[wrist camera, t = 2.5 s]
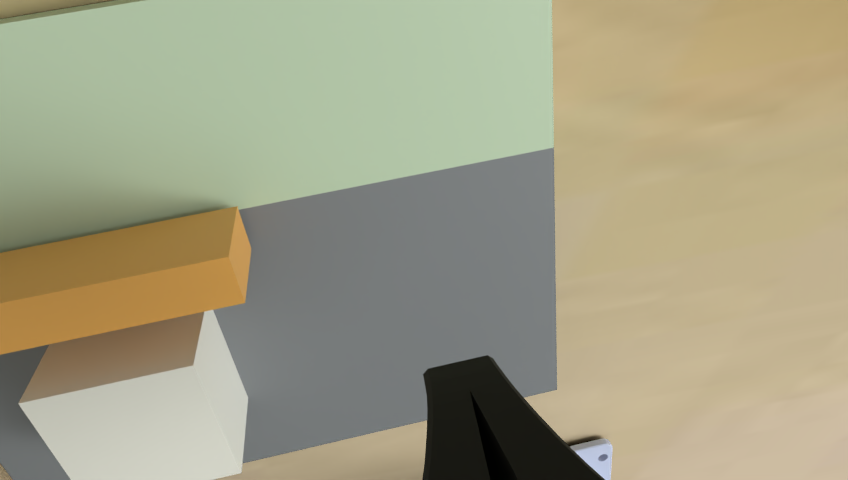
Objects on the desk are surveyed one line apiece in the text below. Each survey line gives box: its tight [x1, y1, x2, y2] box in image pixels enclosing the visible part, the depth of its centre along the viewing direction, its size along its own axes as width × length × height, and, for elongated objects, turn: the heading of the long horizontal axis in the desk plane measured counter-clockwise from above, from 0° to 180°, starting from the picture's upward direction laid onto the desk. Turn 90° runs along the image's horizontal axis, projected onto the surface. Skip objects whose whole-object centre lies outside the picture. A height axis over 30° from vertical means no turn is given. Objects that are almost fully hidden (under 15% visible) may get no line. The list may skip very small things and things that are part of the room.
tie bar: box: [0, 206, 251, 355], centre depth 18 cm, size 2×9×3 cm, turn 97°
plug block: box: [18, 310, 248, 480], centre depth 20 cm, size 5×5×4 cm
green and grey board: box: [0, 0, 557, 480], centre depth 21 cm, size 18×22×1 cm
